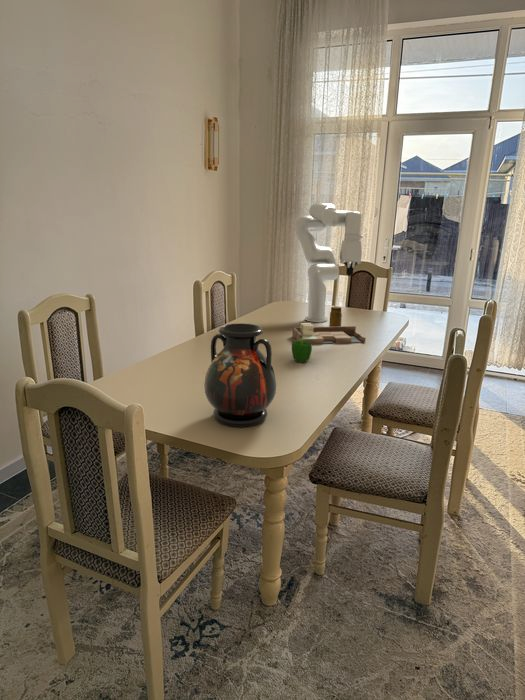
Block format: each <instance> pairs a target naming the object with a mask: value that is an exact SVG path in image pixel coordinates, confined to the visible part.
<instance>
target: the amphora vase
mask: <svg viewBox="0 0 525 700" xmlns="http://www.w3.org/2000/svg"><path fill="white" fill-rule="evenodd" d="M263 332H264V330H263V327H261V326H260V325H256V324H251V323H228V324H225V325H222V326H219V328H218V333H217V334H215V335H213V337H212V339H211V342H210V361H211V362H210V365H209V367H208V369H207V371H206V373H205V379H204V384H203V385H204V394H205V397H206V399H207V401H208V402H209V404H210V405H211V407H213V414H212V415H213V417H214V419H215V420H216V421H218V422H219V423H221V424H223V425H224V426H225V425H226V426H229V427H236V428H241V427H242V428H243V427H251V426H255V425H258V424H260V423H262V422H263V421H265V420H266V418H267V416H268V411H267V408H268V407H269V406H270V404H271V403H272V402H273V400H274V399H275V396H276V393H277V381H276V374H275V373H276V372H275V371H274V368H273V366H272V365H273V364H272V359H273V358H272V356H273V353H272V352H273V351H272V346H271V343H270V342H269V341H268V340H267V339H264V338H259V339H258V340H257V337H258V336H261V335H262V334H263ZM218 340H221V342H222V345H223V348H222V349H220V351H219V352H218V353H217V347H216V346H217V342H218ZM260 344H262V345H264V347H265V351H266V355H265V354H264V353H263V352H262V351H261V350H260V349H259V345H260Z"/></svg>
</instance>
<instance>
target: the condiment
mask: <svg viewBox="0 0 525 700" xmlns="http://www.w3.org/2000/svg"><path fill="white" fill-rule="evenodd" d="M342 317H343V315H342V307H340V306H332V307H331V308H330V312H329V324H328V327H338V326H342Z"/></svg>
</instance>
